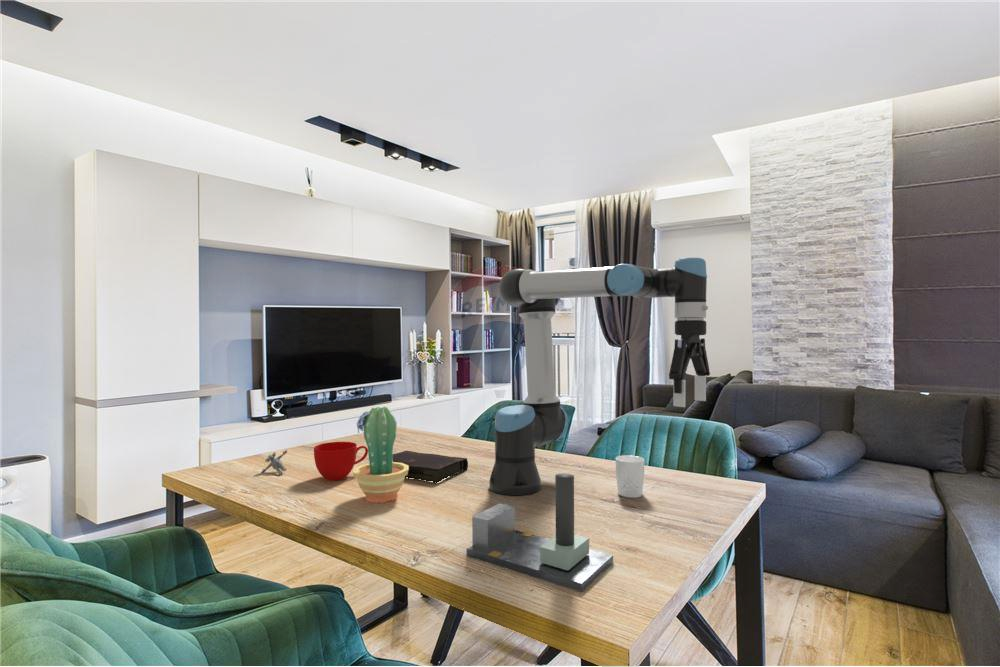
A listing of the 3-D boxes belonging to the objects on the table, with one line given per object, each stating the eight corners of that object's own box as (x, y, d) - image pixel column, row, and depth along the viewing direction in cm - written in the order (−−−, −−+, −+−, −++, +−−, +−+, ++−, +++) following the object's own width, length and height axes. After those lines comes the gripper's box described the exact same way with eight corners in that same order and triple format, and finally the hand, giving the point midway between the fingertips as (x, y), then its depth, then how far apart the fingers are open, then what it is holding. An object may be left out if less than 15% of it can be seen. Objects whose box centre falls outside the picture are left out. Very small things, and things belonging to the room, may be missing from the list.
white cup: (645, 499, 141) (645, 462, 141) (615, 497, 143) (615, 461, 143) (643, 490, 149) (643, 455, 149) (615, 489, 150) (615, 454, 150)
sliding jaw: (540, 562, 99) (539, 478, 99) (562, 546, 107) (562, 468, 107) (568, 570, 96) (567, 484, 96) (589, 553, 103) (588, 472, 103)
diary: (407, 463, 184) (407, 449, 184) (468, 471, 172) (468, 456, 172) (371, 475, 167) (371, 460, 167) (436, 486, 156) (436, 469, 156)
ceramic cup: (375, 476, 164) (374, 445, 164) (320, 486, 155) (320, 452, 155) (361, 468, 175) (360, 438, 175) (309, 476, 165) (309, 445, 165)
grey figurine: (264, 478, 164) (253, 464, 169) (275, 488, 168) (263, 473, 173) (290, 455, 167) (279, 442, 173) (300, 465, 171) (288, 452, 177)
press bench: (466, 555, 106) (466, 519, 106) (505, 533, 118) (504, 500, 118) (581, 592, 92) (581, 549, 91) (613, 562, 103) (612, 524, 103)
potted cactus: (383, 485, 155) (383, 402, 155) (421, 494, 146) (420, 406, 146) (340, 499, 142) (340, 408, 142) (379, 510, 133) (378, 413, 133)
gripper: (685, 318, 119) (685, 411, 120) (722, 319, 138) (722, 399, 138) (654, 319, 124) (654, 407, 125) (694, 320, 143) (694, 397, 143)
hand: (690, 403), depth 132 cm, fingers open, 13 cm apart
